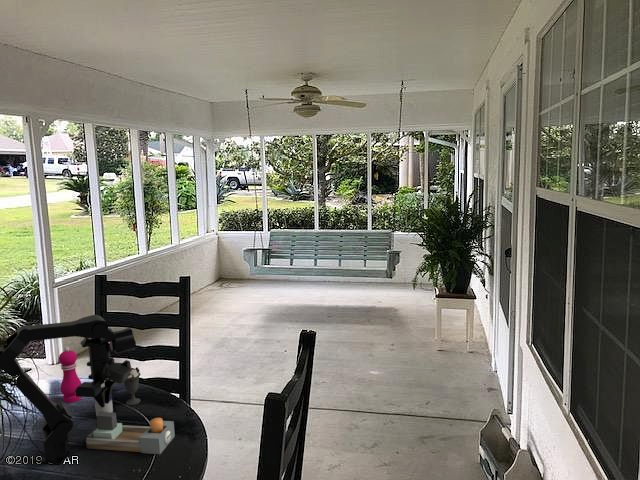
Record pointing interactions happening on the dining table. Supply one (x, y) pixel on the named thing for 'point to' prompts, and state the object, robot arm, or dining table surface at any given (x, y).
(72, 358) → the pepper mill
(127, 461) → the dining table surface
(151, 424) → the button
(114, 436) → the carriage
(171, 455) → the dining table surface
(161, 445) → the cabinet
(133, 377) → the sundae
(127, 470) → the dining table surface
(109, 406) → the energy drink
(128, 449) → the rail board
